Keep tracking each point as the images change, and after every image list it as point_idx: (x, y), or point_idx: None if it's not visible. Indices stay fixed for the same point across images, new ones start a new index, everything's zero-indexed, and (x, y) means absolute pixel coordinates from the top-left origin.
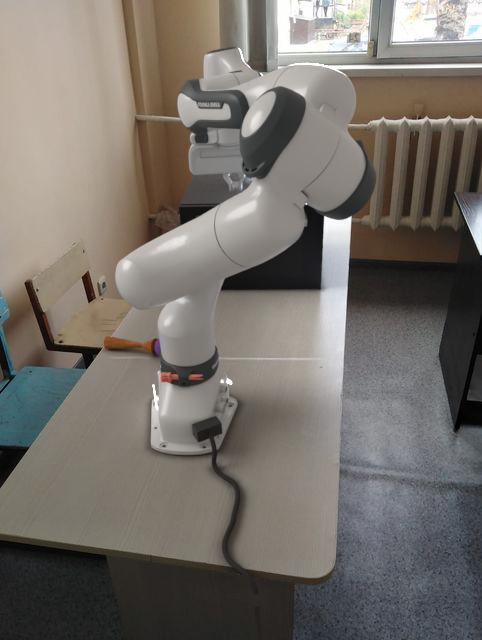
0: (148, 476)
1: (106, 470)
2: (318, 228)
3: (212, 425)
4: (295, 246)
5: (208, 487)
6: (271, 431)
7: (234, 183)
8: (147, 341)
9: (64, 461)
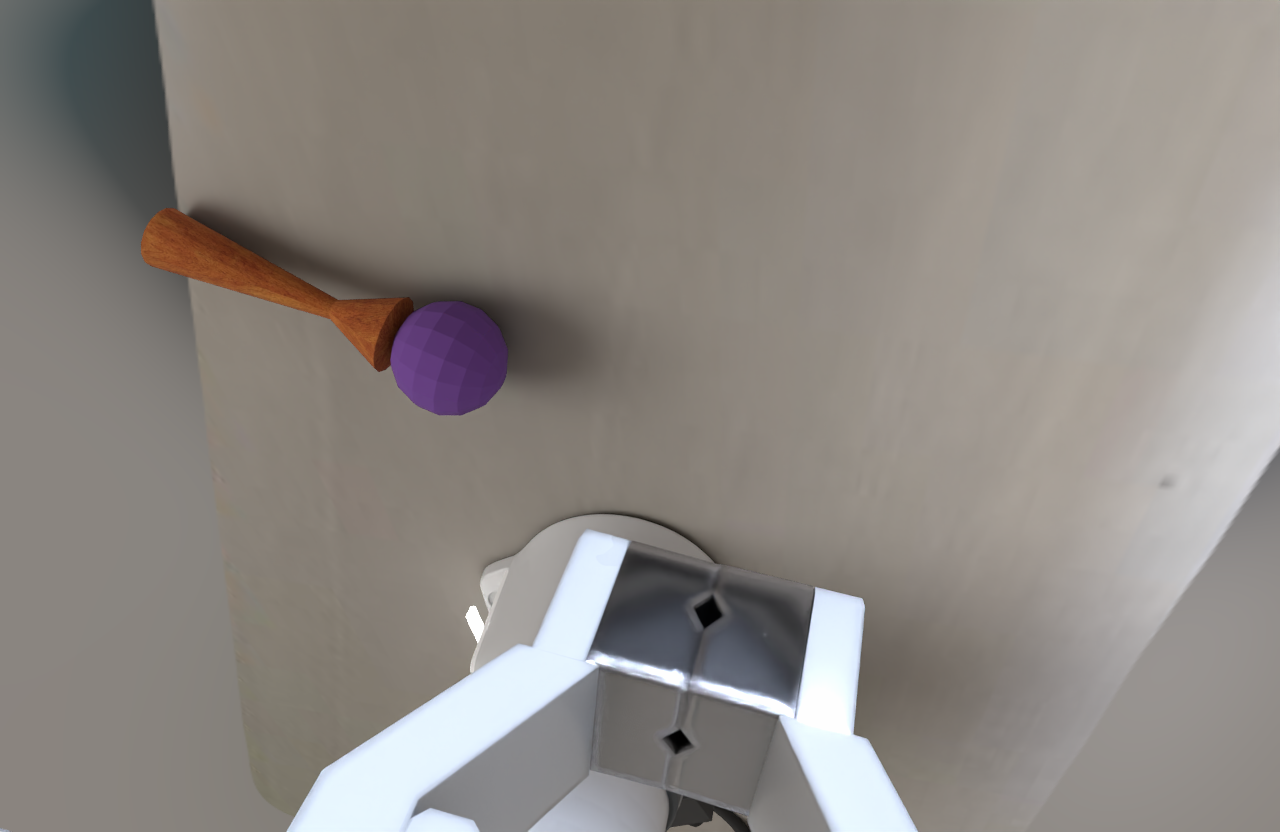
0: None
1: None
2: None
3: (685, 823)
4: None
5: None
6: (869, 725)
7: (657, 752)
8: (349, 329)
9: (330, 709)
